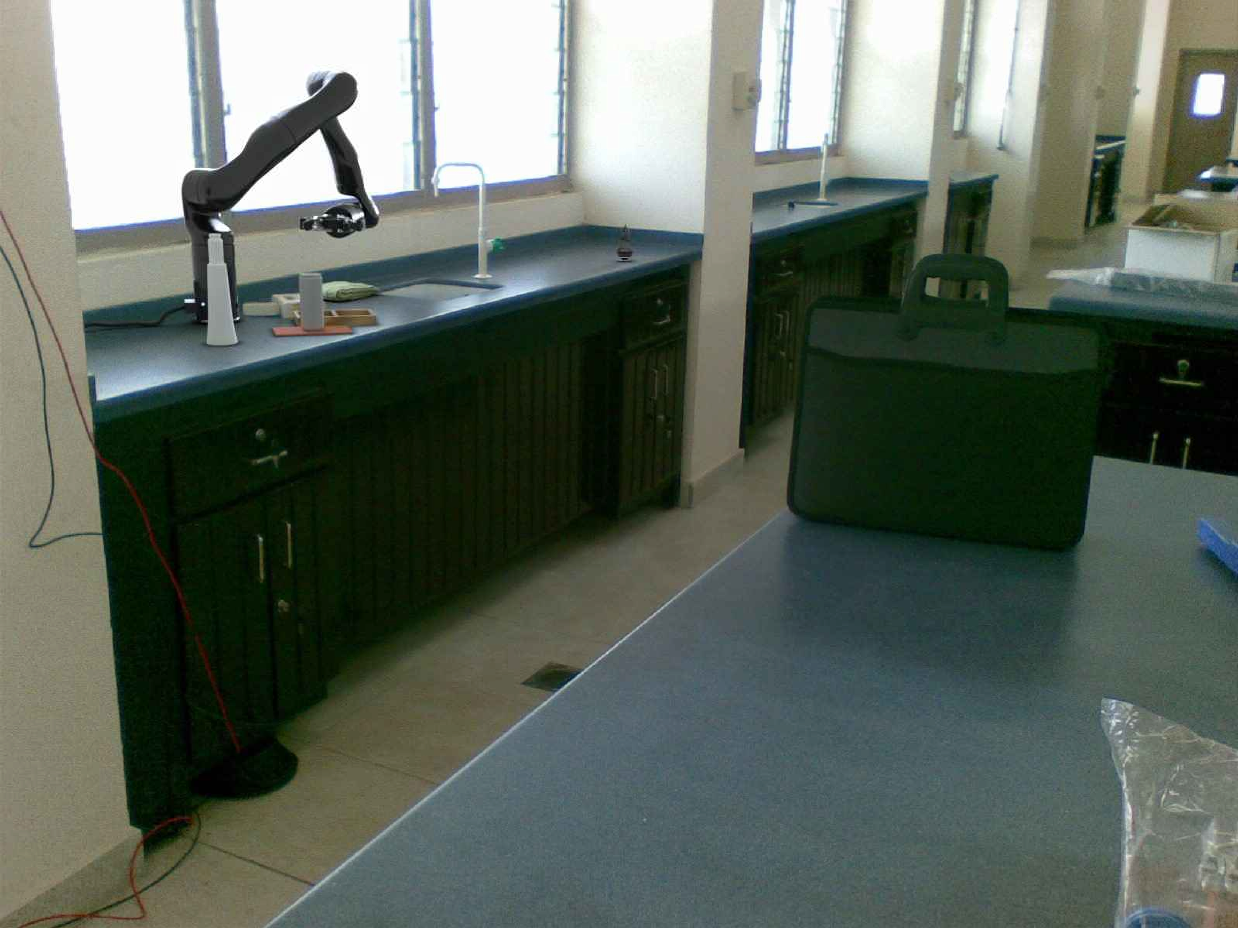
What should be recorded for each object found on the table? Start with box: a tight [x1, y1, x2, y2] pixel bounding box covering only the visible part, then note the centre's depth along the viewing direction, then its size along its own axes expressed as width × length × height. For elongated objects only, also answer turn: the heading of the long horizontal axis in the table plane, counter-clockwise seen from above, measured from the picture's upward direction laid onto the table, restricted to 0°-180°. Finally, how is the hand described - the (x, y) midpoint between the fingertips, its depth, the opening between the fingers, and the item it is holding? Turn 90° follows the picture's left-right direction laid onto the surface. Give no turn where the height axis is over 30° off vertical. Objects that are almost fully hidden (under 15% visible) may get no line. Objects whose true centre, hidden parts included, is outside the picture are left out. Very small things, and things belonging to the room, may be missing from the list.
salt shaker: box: [615, 223, 635, 260], centre depth 395 cm, size 6×6×12 cm
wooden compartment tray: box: [293, 308, 378, 327], centre depth 271 cm, size 17×9×2 cm, turn 110°
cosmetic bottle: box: [206, 234, 238, 347], centre depth 242 cm, size 6×6×22 cm
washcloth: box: [322, 280, 380, 302], centre depth 308 cm, size 13×18×3 cm
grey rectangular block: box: [298, 272, 324, 331], centre depth 258 cm, size 5×5×12 cm
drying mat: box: [272, 325, 354, 338], centre depth 260 cm, size 16×9×1 cm, turn 110°
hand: (325, 226), depth 269 cm, fingers open, 8 cm apart
